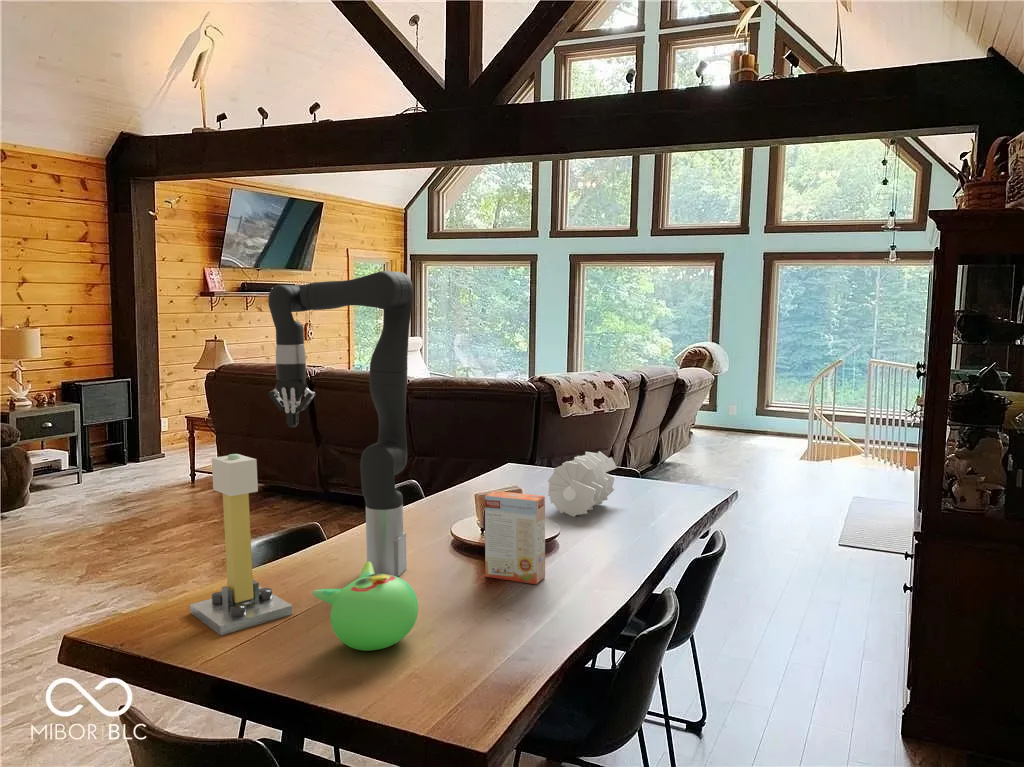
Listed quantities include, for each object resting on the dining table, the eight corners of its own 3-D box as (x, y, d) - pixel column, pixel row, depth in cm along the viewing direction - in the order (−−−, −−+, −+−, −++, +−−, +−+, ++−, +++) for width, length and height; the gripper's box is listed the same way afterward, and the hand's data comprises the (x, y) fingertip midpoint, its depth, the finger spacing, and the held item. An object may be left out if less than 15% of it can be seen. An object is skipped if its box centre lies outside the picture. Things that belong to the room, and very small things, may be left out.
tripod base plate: (190, 612, 172) (189, 584, 171) (259, 594, 183) (258, 567, 182) (220, 635, 160) (219, 605, 160) (292, 614, 171) (291, 585, 170)
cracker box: (546, 577, 193) (546, 495, 191) (536, 585, 188) (536, 500, 186) (495, 569, 199) (494, 489, 197) (484, 577, 194) (484, 494, 191)
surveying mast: (219, 601, 172) (211, 454, 169) (245, 594, 177) (238, 450, 173) (236, 612, 166) (228, 459, 163) (263, 605, 170) (256, 455, 167)
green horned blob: (375, 672, 144) (373, 596, 143) (310, 651, 153) (307, 578, 152) (434, 637, 159) (433, 567, 158) (372, 619, 168) (371, 553, 167)
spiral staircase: (556, 529, 248) (583, 506, 270) (604, 511, 240) (628, 489, 262) (532, 476, 248) (562, 457, 271) (579, 457, 240) (605, 440, 263)
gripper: (260, 362, 203) (262, 428, 204) (307, 363, 200) (309, 429, 202) (274, 360, 210) (276, 423, 212) (320, 360, 207) (322, 425, 209)
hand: (292, 426), depth 207 cm, fingers closed
